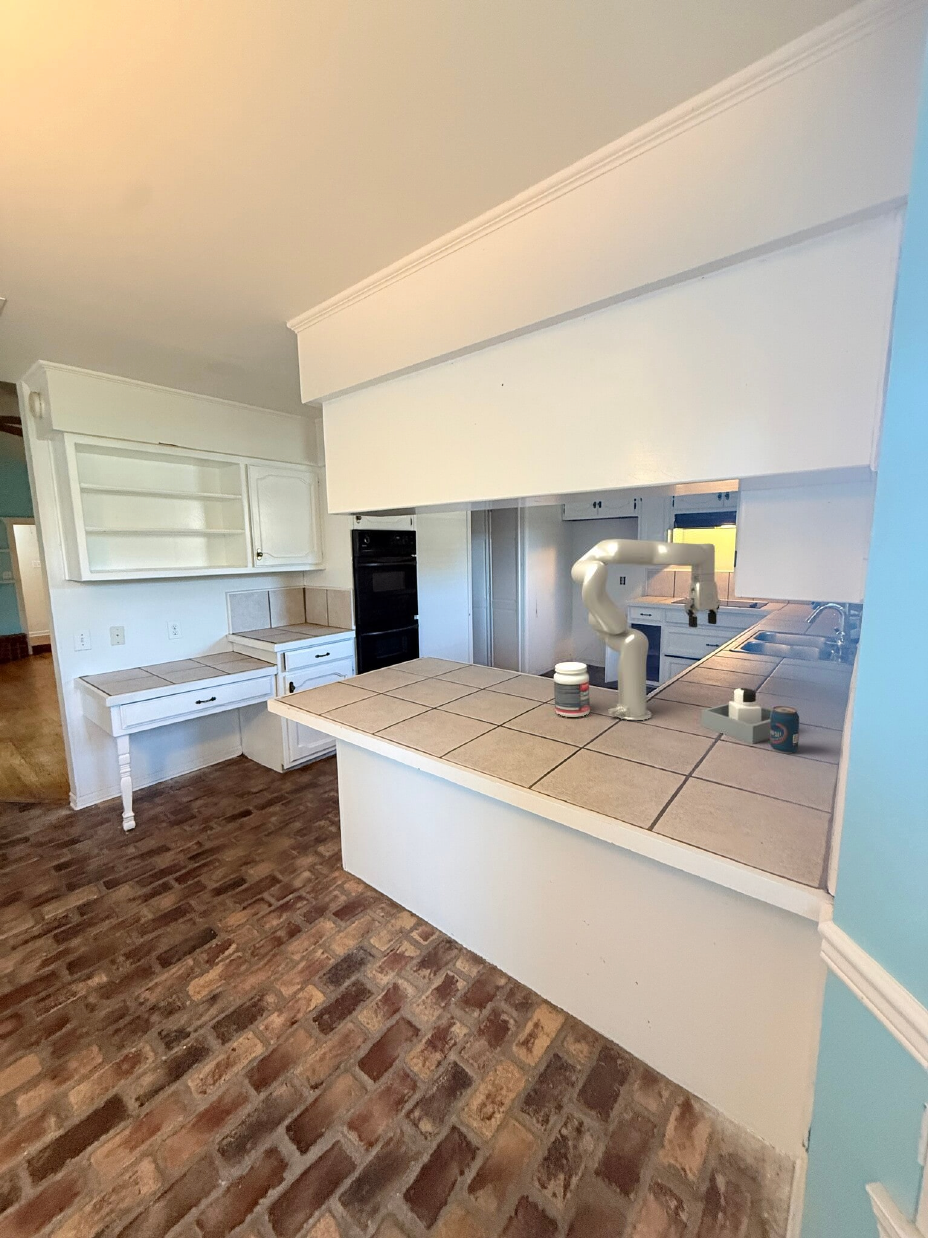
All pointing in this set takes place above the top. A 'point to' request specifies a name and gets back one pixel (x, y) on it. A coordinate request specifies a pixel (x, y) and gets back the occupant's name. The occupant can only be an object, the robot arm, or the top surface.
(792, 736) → the soda can
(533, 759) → the top surface
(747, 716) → the medicine bottle
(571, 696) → the supplement tub
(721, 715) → the bin
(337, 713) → the top surface
